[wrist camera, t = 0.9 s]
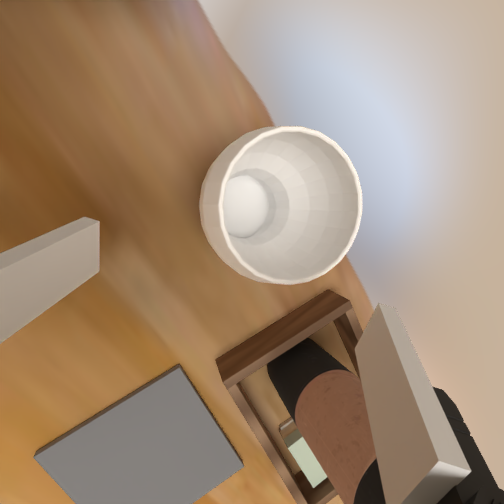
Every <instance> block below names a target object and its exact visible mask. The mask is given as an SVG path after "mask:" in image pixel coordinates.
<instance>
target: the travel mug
mask: <svg viewBox="0 0 504 504" xmlns="http://www.w3.org/2000/svg"><path fill="white" fill-rule="evenodd" d="M267 367H268V374H269V377H270V379H271V381H272V383H273V385H274V386H275V388H276V390H277V392H278V394H279V396H280V397H281V399H282V401H283V403H284V405H285V406H286V408H287V410H288V412H289V414H290V415H291V417H292V419H293V421H294V423H295V424H296V426H297V428H298V430H299V432H300V433H301V435H302V436H303V438H304V440H305V441H306V443H307V444H308V446H309V448H310V449H311V451H312V453H313V454H314V456H315V457H316V459H317V461H318V462H319V464H320V465H321V467H322V469H323V470H324V472H325V474H326V475H327V477H328V478H329V480H330V482H331V483H332V485H333V486H334V488H335V490H336V491H337V493H338V495H339V496H340V498H341V499H342V501H343V503H344V504H386V501H385V496H384V491H383V486H382V482H381V477H380V472H379V467H378V462H377V457H376V452H375V447H374V442H373V437H372V432H371V427H370V422H369V417H368V413H367V408H366V403H365V398H364V393H363V388H362V383H361V380H360V379H359V378H358V377H356V376H355V375H354V374H353V373H352V372H350V371H349V370H348V369H347V368H346V367H344V366H343V365H342V364H341V363H340V362H338V361H337V360H336V359H335V358H333V357H332V356H331V355H330V354H329V353H327V352H326V351H325V350H324V349H322V348H321V347H320V346H319V345H318V344H316V343H315V342H314V341H312V340H311V339H309V338H306V339H304V340H303V341H301V342H300V343H298V344H296V345H295V346H293V347H292V348H290V349H289V350H287V351H286V352H284V353H283V354H281V355H280V356H278V357H276V358H275V359H273V360H272V361H270V362H269V363H268V365H267Z"/></svg>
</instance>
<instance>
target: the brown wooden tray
mask: <svg viewBox="0 0 504 504" xmlns="http://www.w3.org/2000/svg"><path fill="white" fill-rule="evenodd" d="M333 320H334V323H335V325H336V327H337V329H338V331H339V334H340V336H341V338H342V340H343V343H344V345H345V347H346V349H347V352H348V354H349V356H350V358H351V361H352V363H353V365H354V367H355V370H356V372H357V374H358V376H359V379H360V380H361V378H360V373H359V368H358V363H357V358H356V353H355V347H356V345H357V343H358V341H359V340H360V338H361V336H362V334H363V331H362V329H361V326H360V324H359V322H358V319H357V317H356V314H355V312H354V310H353V307H352V305H351V302H350V300H348V299H346V298H344V297H342V296H340V295H338V294H336V293H334V292H332V291H330V290H327V291H325V292H323V293H322V294H320V295H319V296H317V297H315V298H314V299H312V300H311V301H309V302H307V303H306V304H304V305H303V306H301V307H299V308H298V309H296V310H295V311H293V312H291V313H290V314H288V315H287V316H285V317H283V318H282V319H280V320H279V321H277V322H275V323H274V324H272V325H271V326H269V327H267V328H266V329H264V330H263V331H261V332H259V333H258V334H256V335H255V336H253V337H251V338H250V339H248V340H247V341H245V342H243V343H242V344H240V345H239V346H237V347H235V348H234V349H232V350H231V351H229V352H227V353H226V354H224V355H223V356H221V357H219V358H218V359H216V363H217V366H218V369H219V372H220V375H221V378H222V381H223V383H224V385H225V387H226V388H227V390H228V391H229V393H230V395H231V396H232V398H233V400H234V401H235V403H236V405H237V406H238V408H239V409H240V411H241V413H242V414H243V416H244V418H245V419H246V421H247V423H248V424H249V426H250V427H251V429H252V431H253V432H254V434H255V436H256V437H257V439H258V441H259V442H260V444H261V445H262V447H263V449H264V450H265V452H266V454H267V455H268V457H269V459H270V460H271V462H272V463H273V465H274V467H275V468H276V470H277V472H278V473H279V475H280V477H281V478H282V480H283V481H284V483H285V485H286V486H287V488H288V490H289V491H290V493H291V495H292V496H293V498H294V499H295V501H296V503H297V504H326V503H327V502H329V501H330V500H331V499H332V498H334V497H335V496H336V495H338V493H337V491H336V490H335V488H334V486H333V485H332V483H331V482H330V480H329V478H328V477H327V478H326V479H324V480H323V481H322V482H321V483H319V484H318V485H317V486H316V487H314V488H313V487H312V485H311V483H310V482H309V480H308V479H307V477H306V476H305V474H304V472H303V471H302V470H301V471H300V472H299V473H297V474H296V475H295V476H294V474H293V473H292V471H291V469H290V468H289V466H288V464H287V463H286V461H285V459H284V457H283V456H282V454H281V452H280V451H279V449H278V447H277V446H276V444H275V442H274V441H273V439H272V437H271V436H270V434H269V432H268V430H267V429H266V427H265V425H264V424H263V422H262V420H261V419H260V417H259V415H258V414H257V412H256V410H255V409H254V407H253V405H252V403H251V402H250V400H249V398H248V397H247V395H246V393H245V392H244V390H243V388H242V387H241V385H240V383H239V382H240V381H241V380H243V379H244V378H246V377H247V376H249V375H250V374H252V373H253V372H255V371H256V370H258V369H260V368H261V367H263V366H264V365H266V364H267V363H269V362H270V361H272V360H273V359H275V358H276V357H278V356H280V355H281V354H283V353H284V352H286V351H287V350H289V349H290V348H292V347H293V346H295V345H296V344H298V343H300V342H301V341H303V340H304V339H306V338H307V337H309V336H310V335H312V334H313V333H315V332H316V331H318V330H319V329H321V328H323V327H324V326H326V325H327V324H329V323H330V322H332V321H333Z"/></svg>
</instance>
